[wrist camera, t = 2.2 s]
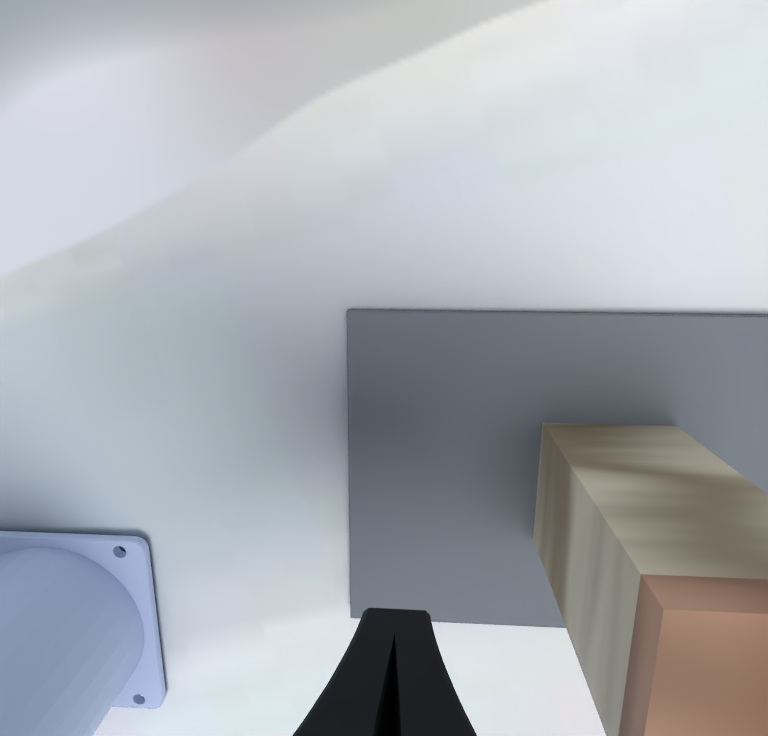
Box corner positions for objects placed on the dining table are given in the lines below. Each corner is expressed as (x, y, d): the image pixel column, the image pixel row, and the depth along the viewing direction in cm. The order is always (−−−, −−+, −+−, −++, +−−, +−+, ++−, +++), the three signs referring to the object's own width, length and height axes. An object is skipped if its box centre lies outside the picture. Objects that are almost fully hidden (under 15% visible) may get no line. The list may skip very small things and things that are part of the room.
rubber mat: (352, 607, 22) (350, 617, 21) (349, 309, 19) (347, 311, 18) (932, 633, 20) (947, 645, 20) (1027, 318, 17) (1048, 321, 17)
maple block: (532, 538, 20) (633, 807, 11) (542, 422, 19) (663, 609, 9) (659, 543, 19) (875, 823, 10) (676, 425, 18) (935, 621, 9)
